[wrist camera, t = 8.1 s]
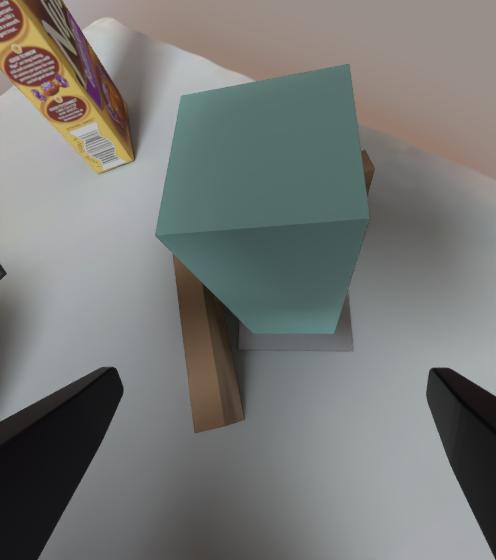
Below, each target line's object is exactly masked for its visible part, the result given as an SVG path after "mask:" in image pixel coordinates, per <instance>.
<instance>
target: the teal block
mask: <svg viewBox="0 0 496 560" xmlns="http://www.w3.org/2000/svg"><path fill="white" fill-rule="evenodd" d="M369 220H370V216H369V209H368V201H367V193H366V186H365V178H364V171H363V163H362V156H361V148H360V140H359V133H358V125H357V118H356V111H355V103H354V95H353V88H352V80H351V72H350V65H349V64H346V65H341V66H335V67H330V68H325V69H320V70H314V71H310V72H304V73H299V74H294V75H289V76H283V77H278V78H273V79H267V80H262V81H257V82H251V83H246V84H241V85H236V86H230V87H225V88H220V89H215V90H209V91H204V92H199V93H194V94H188V95H183V96H181V99H180V104H179V110H178V115H177V121H176V126H175V131H174V137H173V142H172V147H171V153H170V158H169V163H168V169H167V174H166V180H165V185H164V190H163V196H162V201H161V206H160V212H159V217H158V223H157V228H156V233H155V236H156V237H157V238H158V239H159V240H160V241H161V242H162V243H163V244H164V245H165V246H166V247H167V248H168V249H169V250H170V251H171V252H172V253H173V254H174V255H175V256H176V257H177V258H178V259H179V260H180V261H181V262H182V263H183V264H184V265H185V266H186V267H187V268H188V269H189V270H190V271H191V272H192V273H193V274H194V275H195V276H196V277H197V278H198V279H199V280H200V281H201V282H202V283H203V284H204V285H205V286H206V287H207V288H208V289H209V290H210V291H211V292H212V293H213V294H214V295H215V296H216V297H217V298H218V299H219V300H220V301H221V302H222V303H223V304H224V305H225V306H226V307H227V308H228V309H229V310H230V311H231V312H232V313H233V314H234V315H235V316H236V317H237V318H238V319H239V320H240V321H241V322H242V323H243V324H244V325H245V326H246V327H247V328H248V329H249V330H250V331H251V332H252V333H253V334H334V332H335V329H336V326H337V322H338V319H339V316H340V313H341V310H342V306H343V303H344V300H345V297H346V294H347V290H348V287H349V284H350V281H351V277H352V274H353V271H354V268H355V265H356V261H357V258H358V255H359V252H360V249H361V245H362V242H363V239H364V236H365V232H366V229H367V226H368V223H369Z"/></svg>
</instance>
